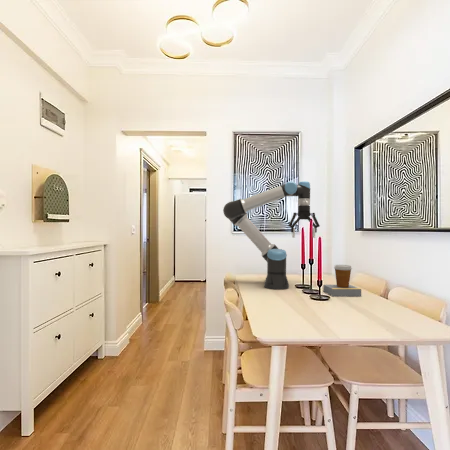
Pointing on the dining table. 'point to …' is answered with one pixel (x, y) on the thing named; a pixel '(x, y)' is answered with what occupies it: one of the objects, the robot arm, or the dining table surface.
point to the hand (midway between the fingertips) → (303, 237)
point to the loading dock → (342, 290)
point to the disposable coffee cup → (342, 275)
